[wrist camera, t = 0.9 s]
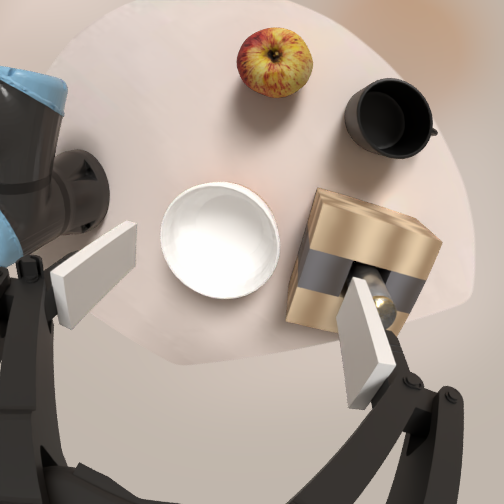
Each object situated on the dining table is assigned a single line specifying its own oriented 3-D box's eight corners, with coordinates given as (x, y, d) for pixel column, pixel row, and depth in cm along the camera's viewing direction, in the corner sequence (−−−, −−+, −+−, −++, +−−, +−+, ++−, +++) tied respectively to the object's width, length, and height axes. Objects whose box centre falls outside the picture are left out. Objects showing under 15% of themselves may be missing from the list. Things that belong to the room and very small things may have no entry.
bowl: (290, 181, 41) (288, 192, 34) (275, 281, 48) (271, 308, 40) (182, 169, 43) (159, 177, 36) (179, 265, 49) (161, 288, 42)
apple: (256, 35, 33) (244, 10, 24) (319, 52, 33) (325, 30, 24) (237, 91, 37) (220, 80, 28) (300, 109, 37) (301, 102, 28)
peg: (341, 287, 38) (350, 329, 29) (352, 257, 36) (366, 294, 28) (371, 294, 37) (385, 336, 29) (383, 265, 36) (403, 303, 27)
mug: (417, 163, 37) (444, 173, 29) (339, 145, 38) (351, 149, 30) (426, 102, 33) (454, 98, 25) (348, 81, 34) (361, 68, 26)
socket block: (288, 284, 48) (285, 321, 38) (317, 187, 41) (323, 204, 32) (378, 306, 47) (392, 344, 38) (415, 218, 40) (442, 242, 31)
